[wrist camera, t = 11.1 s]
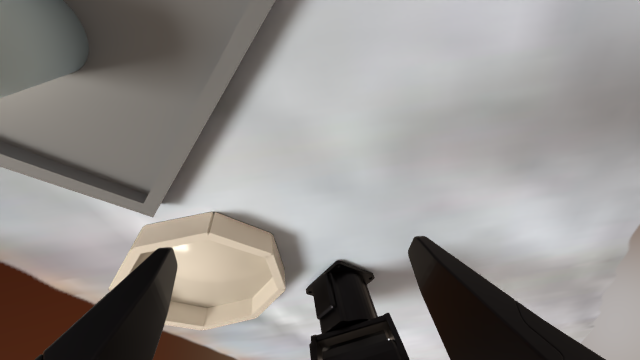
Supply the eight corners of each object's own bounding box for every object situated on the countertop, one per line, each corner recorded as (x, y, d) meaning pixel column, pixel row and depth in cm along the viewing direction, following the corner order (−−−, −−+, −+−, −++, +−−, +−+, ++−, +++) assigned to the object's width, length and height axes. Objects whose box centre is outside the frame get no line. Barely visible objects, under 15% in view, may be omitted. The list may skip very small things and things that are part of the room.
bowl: (306, 246, 27) (309, 266, 25) (239, 314, 32) (238, 335, 30) (162, 191, 20) (150, 212, 18) (108, 289, 25) (94, 314, 23)
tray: (279, -8, 14) (280, -9, 13) (160, 204, 21) (152, 217, 19) (-382, -615, 6) (-568, -791, 4) (-230, 64, 12) (-288, 71, 11)
